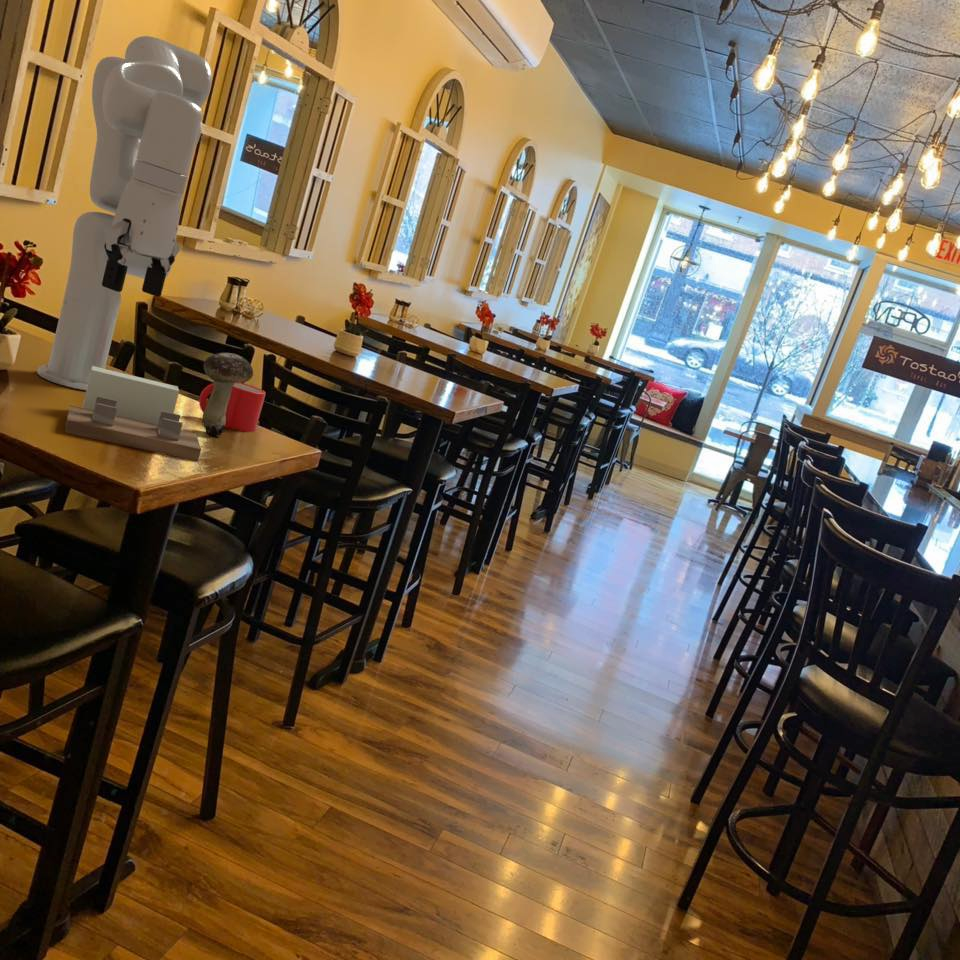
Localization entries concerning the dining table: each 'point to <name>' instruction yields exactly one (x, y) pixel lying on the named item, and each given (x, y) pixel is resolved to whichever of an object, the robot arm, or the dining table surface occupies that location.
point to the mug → (239, 406)
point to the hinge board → (133, 430)
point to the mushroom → (223, 387)
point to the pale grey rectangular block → (131, 395)
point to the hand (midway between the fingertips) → (131, 291)
